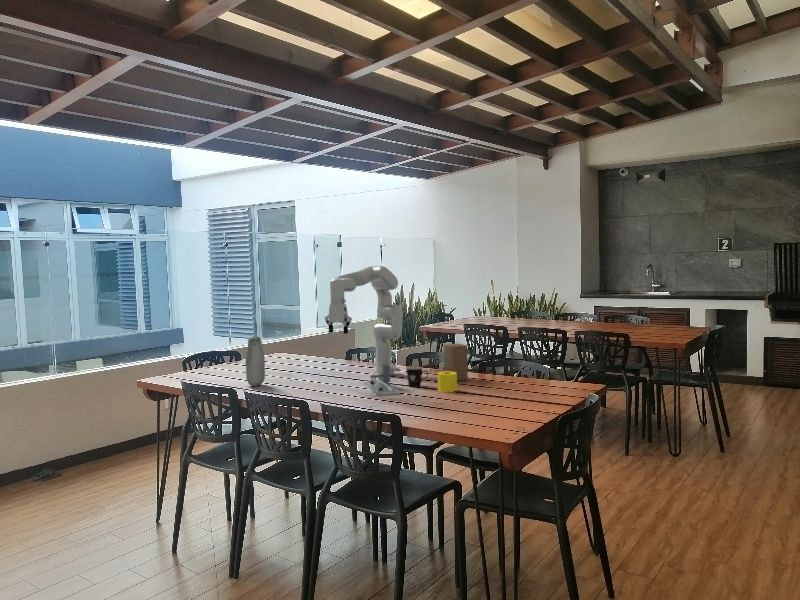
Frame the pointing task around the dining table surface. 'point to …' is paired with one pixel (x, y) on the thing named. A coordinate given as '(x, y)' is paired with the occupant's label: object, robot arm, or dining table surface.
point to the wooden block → (456, 360)
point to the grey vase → (255, 362)
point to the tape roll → (447, 381)
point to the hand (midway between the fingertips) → (338, 333)
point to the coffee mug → (415, 376)
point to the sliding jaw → (384, 373)
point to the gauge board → (381, 387)
